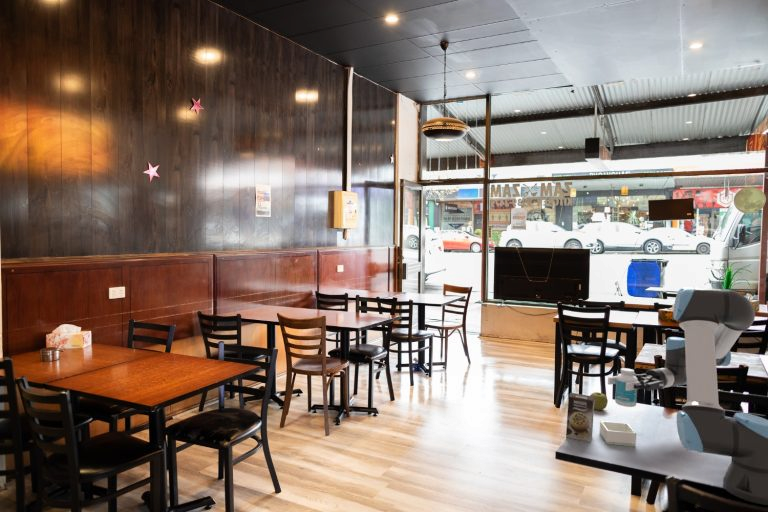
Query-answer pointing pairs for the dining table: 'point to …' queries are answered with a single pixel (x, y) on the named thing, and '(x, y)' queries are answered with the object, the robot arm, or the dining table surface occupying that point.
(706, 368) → the robot arm
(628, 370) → the pill bottle
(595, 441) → the dining table surface
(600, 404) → the apple
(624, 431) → the holder
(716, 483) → the dining table surface
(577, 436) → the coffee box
